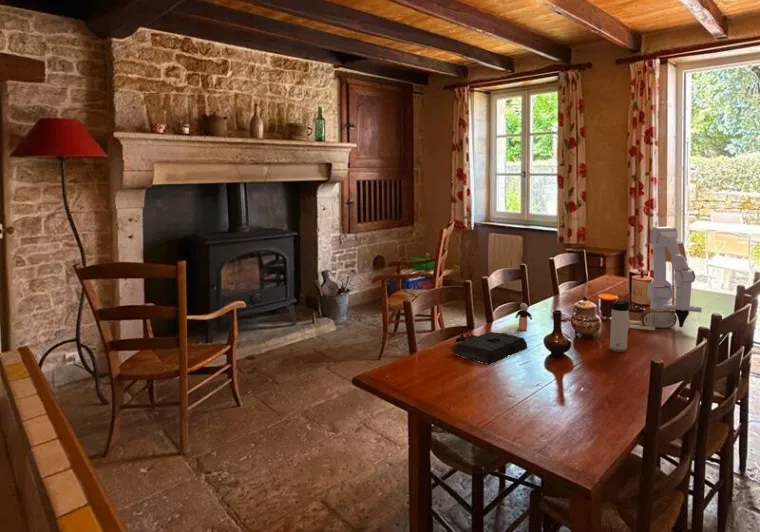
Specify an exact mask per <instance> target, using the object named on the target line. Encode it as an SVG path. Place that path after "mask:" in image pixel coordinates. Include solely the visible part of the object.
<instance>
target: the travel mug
mask: <svg viewBox="0 0 760 532" xmlns="http://www.w3.org/2000/svg"><path fill="white" fill-rule="evenodd" d="M629 308H630V302H629V301H623V300H620V301H615V302H611V312H610V313H611V318H610V319H611V320H610V333H609V335H610V336H609V337H610V338H609V350H611V351H613V352H618V353H621V352H622V353H623V352H624V353H625V352H627V349H628V332H629V331H628V318H629V317H630V316H629V314H630V312H629V311H630V309H629Z"/></svg>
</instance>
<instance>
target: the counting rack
mask: <svg viewBox="0 0 760 532" xmlns="http://www.w3.org/2000/svg"><path fill="white" fill-rule="evenodd" d="M629 329H638V330H646V329H647V331H656V328H655V327H651V326H644V325H643V324H642V323H641V320H629Z"/></svg>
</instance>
